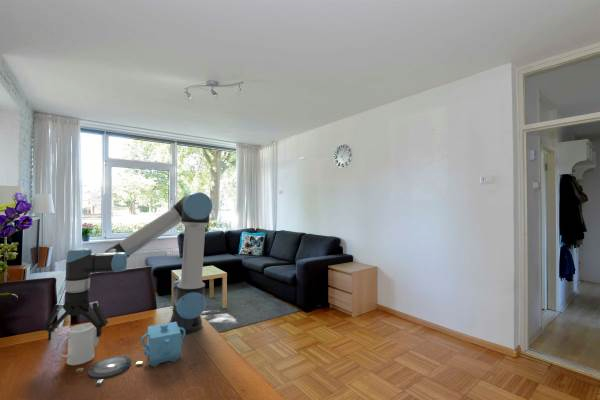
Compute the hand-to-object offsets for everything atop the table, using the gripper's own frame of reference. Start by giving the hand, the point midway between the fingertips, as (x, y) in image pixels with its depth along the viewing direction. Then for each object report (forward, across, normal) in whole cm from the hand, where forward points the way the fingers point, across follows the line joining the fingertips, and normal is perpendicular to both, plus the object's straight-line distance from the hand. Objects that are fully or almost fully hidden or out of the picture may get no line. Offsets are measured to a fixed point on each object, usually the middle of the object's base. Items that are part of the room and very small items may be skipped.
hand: (75, 346), depth 110 cm
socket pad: (+5, -14, +10) cm, 18 cm away
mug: (+6, 0, 0) cm, 6 cm away
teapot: (+5, -32, +8) cm, 34 cm away
